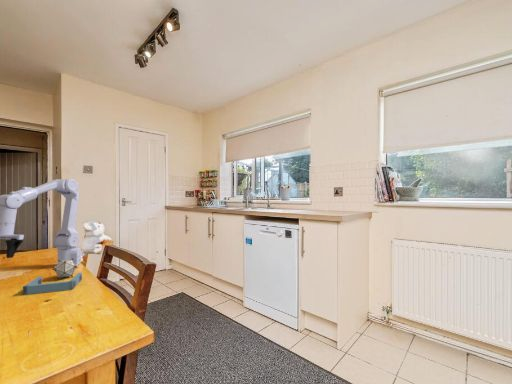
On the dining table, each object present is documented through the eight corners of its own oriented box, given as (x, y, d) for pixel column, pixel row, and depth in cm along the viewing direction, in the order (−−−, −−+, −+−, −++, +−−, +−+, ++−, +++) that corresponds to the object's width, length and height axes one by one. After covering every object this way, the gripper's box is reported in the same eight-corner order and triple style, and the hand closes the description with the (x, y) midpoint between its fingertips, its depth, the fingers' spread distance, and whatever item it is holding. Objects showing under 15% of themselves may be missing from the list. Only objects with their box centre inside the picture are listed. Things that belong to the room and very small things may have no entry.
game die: (60, 286, 108) (45, 268, 108) (80, 274, 115) (66, 257, 115) (64, 280, 103) (49, 261, 103) (85, 268, 110) (71, 250, 110)
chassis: (82, 279, 106) (82, 272, 106) (72, 289, 95) (72, 281, 95) (38, 284, 101) (38, 276, 101) (22, 295, 90) (22, 286, 90)
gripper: (-24, 223, 98) (-30, 258, 96) (14, 223, 98) (9, 259, 97) (-6, 223, 105) (-11, 256, 103) (29, 224, 105) (25, 256, 104)
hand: (0, 257), depth 100 cm, fingers open, 7 cm apart
